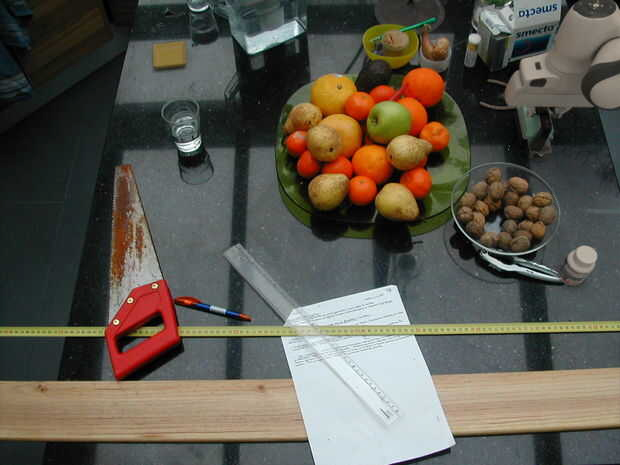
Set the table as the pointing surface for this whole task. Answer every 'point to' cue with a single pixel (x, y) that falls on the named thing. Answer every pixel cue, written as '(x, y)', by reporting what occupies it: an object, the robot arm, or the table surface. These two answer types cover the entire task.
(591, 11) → the robot arm
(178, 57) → the yellow kitchen sponge
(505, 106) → the pliers
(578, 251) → the pill bottle
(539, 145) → the iron
